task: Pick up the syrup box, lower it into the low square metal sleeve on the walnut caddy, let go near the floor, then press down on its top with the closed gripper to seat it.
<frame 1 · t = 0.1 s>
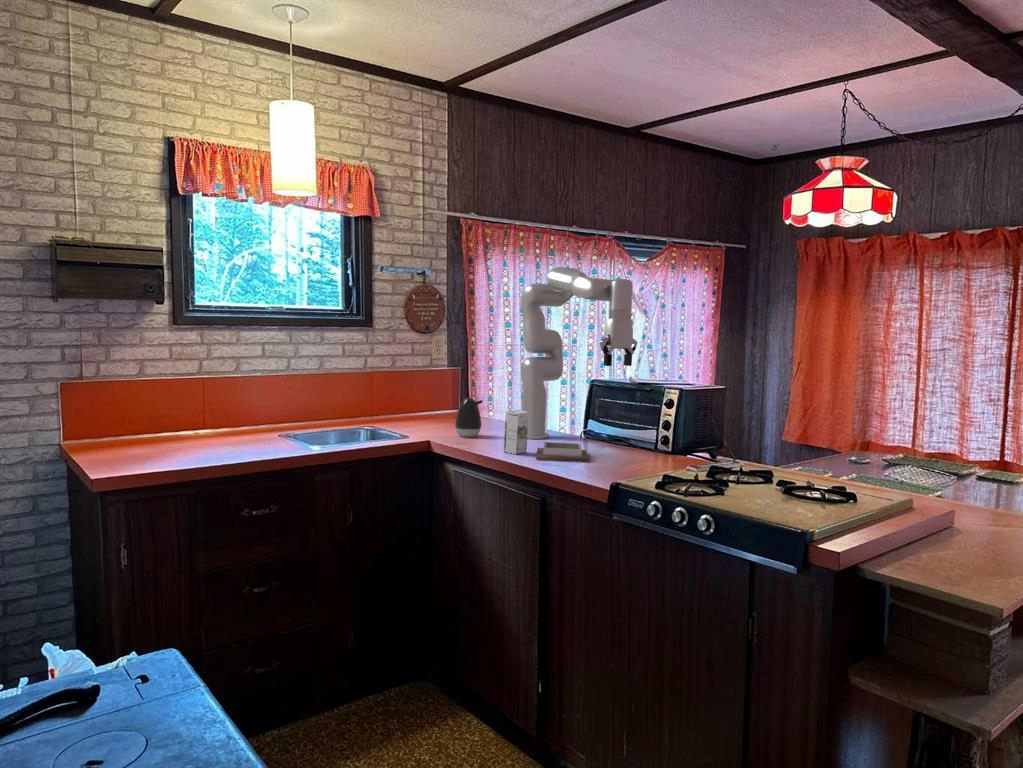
hand: (617, 365, 254), 31 cm above the countertop, tool pointing down, fingers open, 9 cm apart
syrup box: (515, 453, 255), on the countertop
caddy: (561, 456, 251), on the countertop
pump dispenser: (468, 437, 288), on the countertop
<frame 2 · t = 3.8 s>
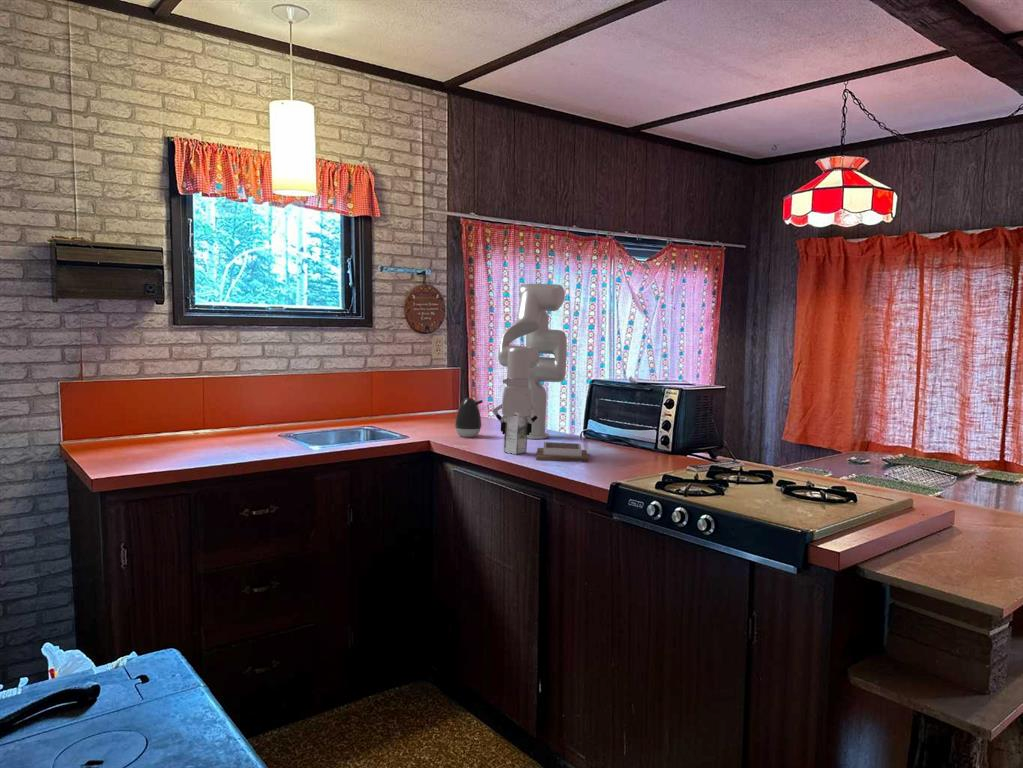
hand: (516, 434, 254), 7 cm above the countertop, tool pointing down, fingers closed on syrup box, 8 cm apart
syrup box: (515, 453, 255), on the countertop, touching gripper
everything else where it was.
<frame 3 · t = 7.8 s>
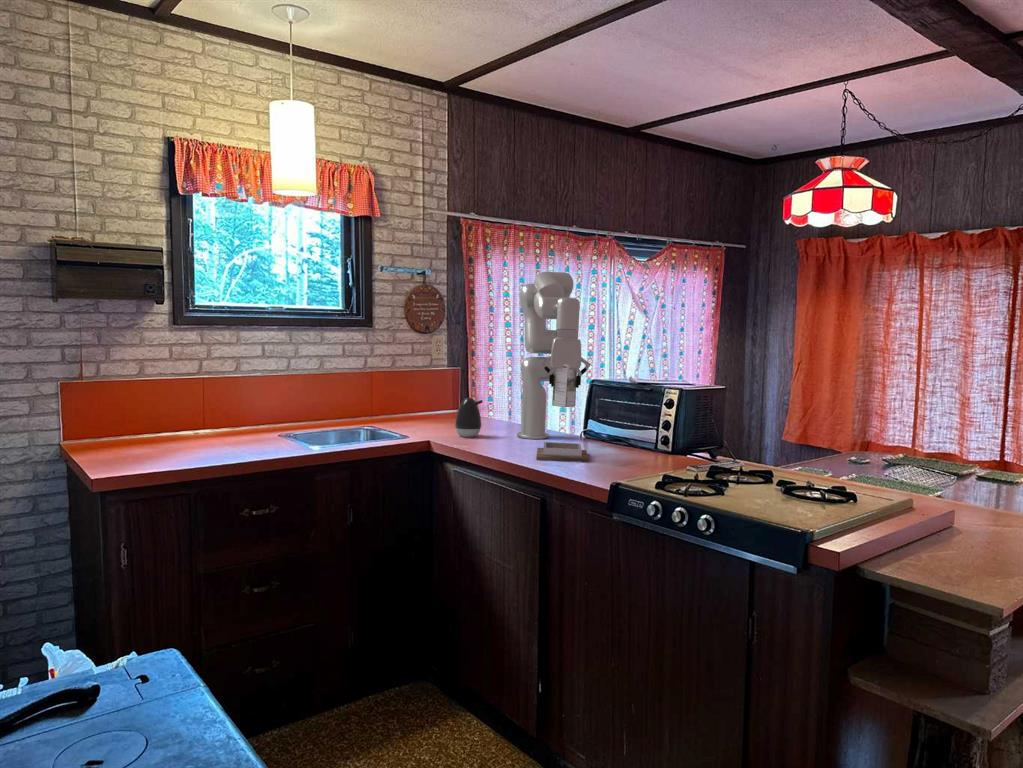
hand: (564, 386, 249), 24 cm above the countertop, tool pointing down, fingers closed on syrup box, 8 cm apart
syrup box: (563, 406, 250), point 17 cm above the countertop, touching gripper
everything else where it was.
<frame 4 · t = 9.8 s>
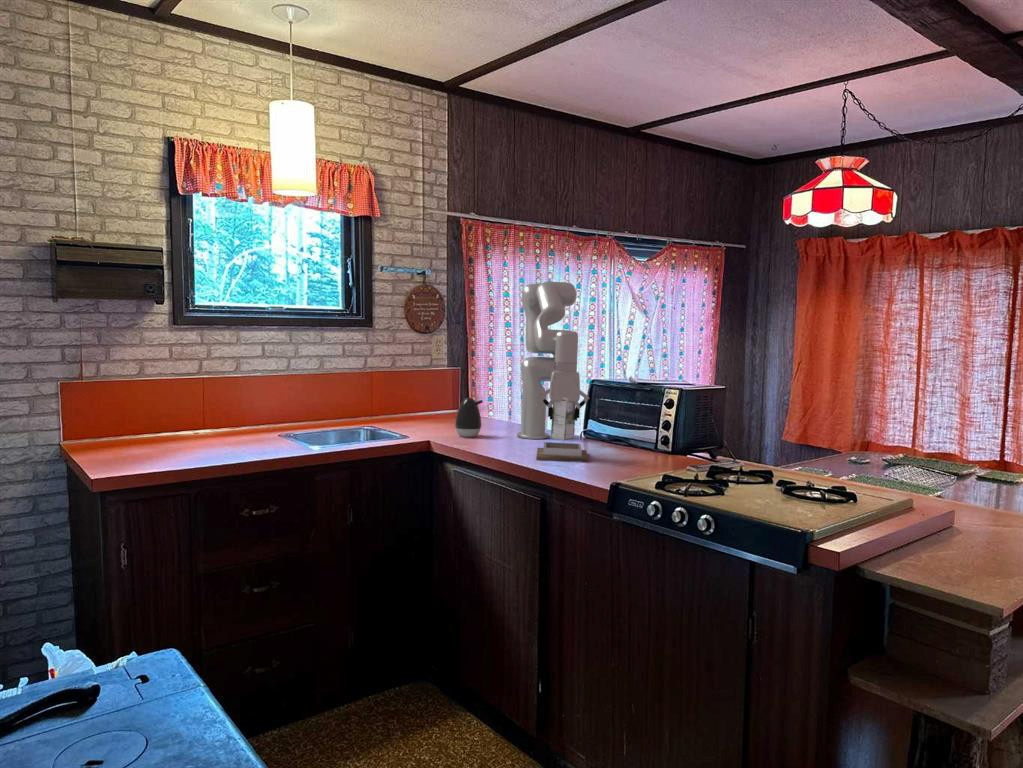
hand: (563, 419, 250), 13 cm above the countertop, tool pointing down, fingers closed on syrup box, 8 cm apart
syrup box: (562, 439, 251), point 6 cm above the countertop, touching gripper
everything else where it was.
when the fingers open (8 cm above the countertop, at t = 11.7 s): syrup box stays where it is, resting on caddy.
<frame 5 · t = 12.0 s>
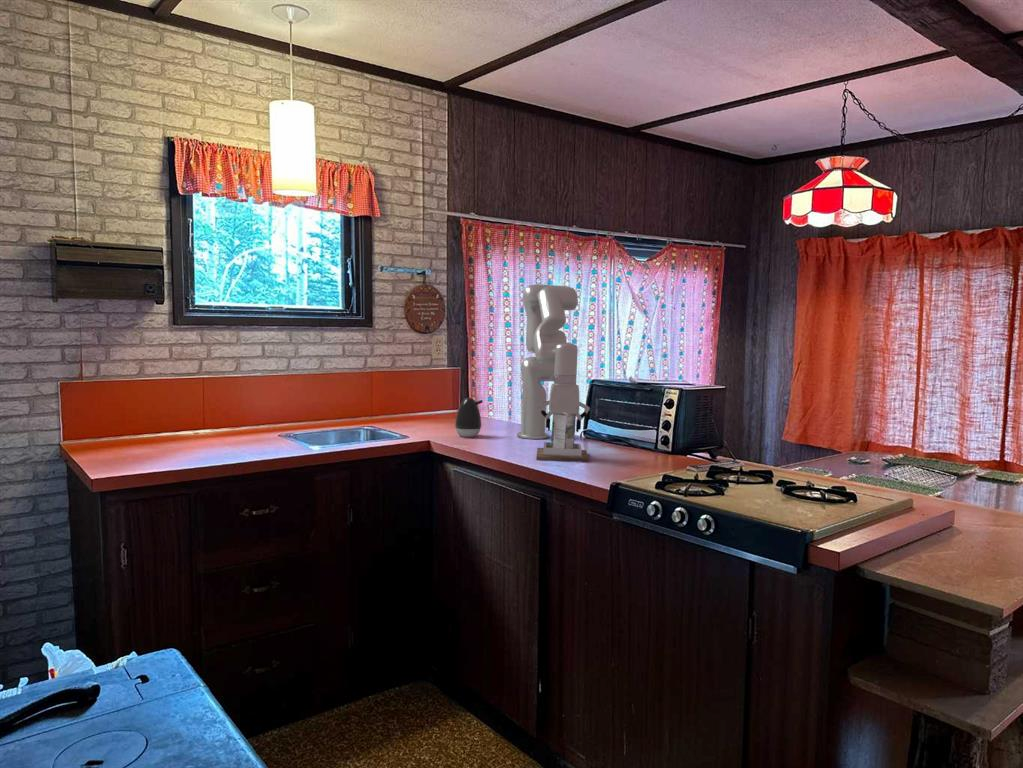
hand: (563, 430, 250), 9 cm above the countertop, tool pointing down, fingers open, 9 cm apart
syrup box: (562, 453, 251), point 1 cm above the countertop, touching caddy
everything else where it was.
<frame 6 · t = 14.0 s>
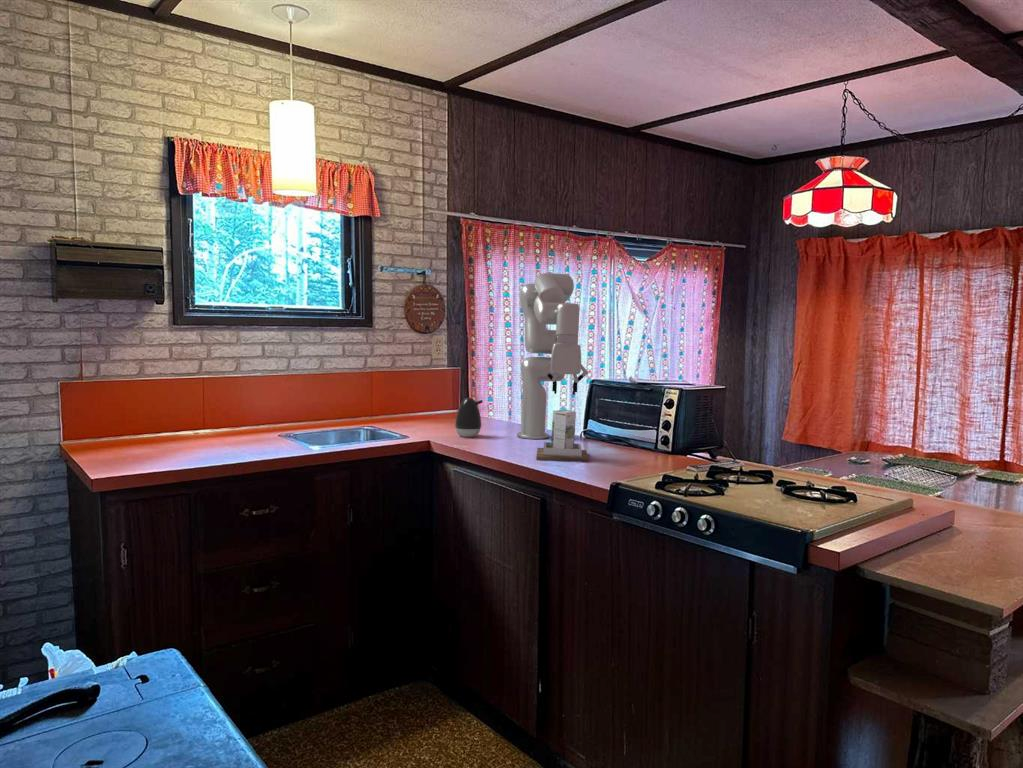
hand: (564, 393, 249), 21 cm above the countertop, tool pointing down, fingers open, 5 cm apart
nothing on the countertop moved.
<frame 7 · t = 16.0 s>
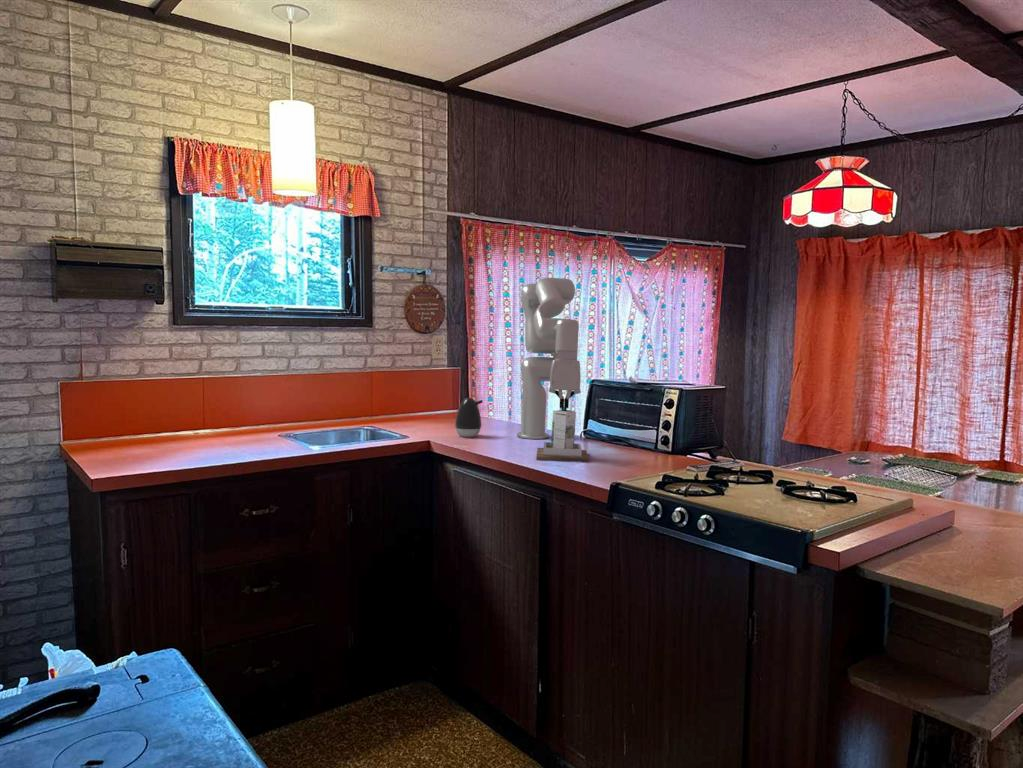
hand: (563, 410, 250), 16 cm above the countertop, tool pointing down, fingers closed
syrup box: (562, 453, 251), point 1 cm above the countertop, touching caddy, gripper
everything else where it was.
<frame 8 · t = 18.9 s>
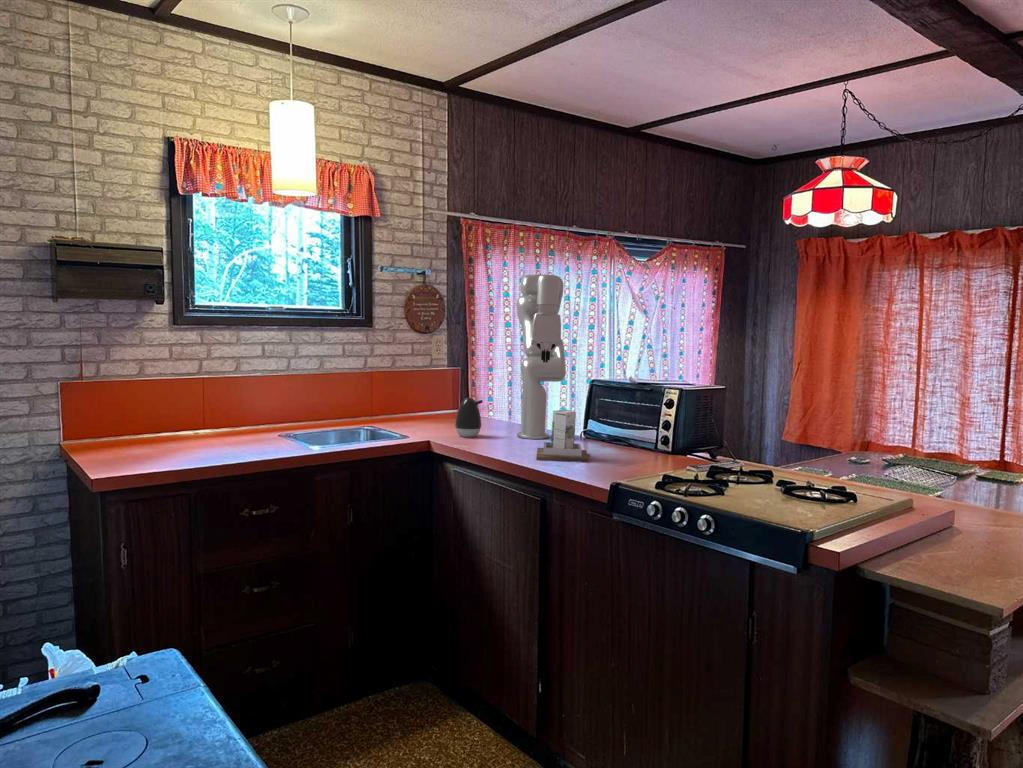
hand: (545, 362, 262), 31 cm above the countertop, tool pointing down, fingers closed
syrup box: (562, 453, 251), point 1 cm above the countertop, touching caddy
everything else where it was.
at the end: syrup box 0.2 cm from the caddy (horizontally); syrup box point 1.0 cm above the countertop; syrup box tilted 0° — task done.
